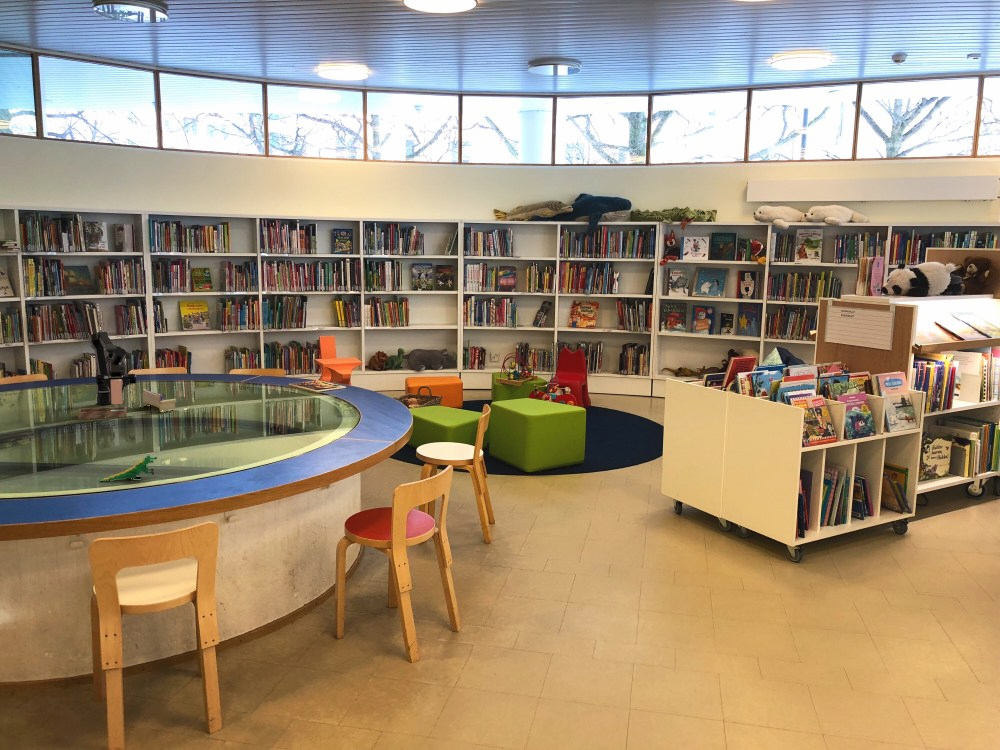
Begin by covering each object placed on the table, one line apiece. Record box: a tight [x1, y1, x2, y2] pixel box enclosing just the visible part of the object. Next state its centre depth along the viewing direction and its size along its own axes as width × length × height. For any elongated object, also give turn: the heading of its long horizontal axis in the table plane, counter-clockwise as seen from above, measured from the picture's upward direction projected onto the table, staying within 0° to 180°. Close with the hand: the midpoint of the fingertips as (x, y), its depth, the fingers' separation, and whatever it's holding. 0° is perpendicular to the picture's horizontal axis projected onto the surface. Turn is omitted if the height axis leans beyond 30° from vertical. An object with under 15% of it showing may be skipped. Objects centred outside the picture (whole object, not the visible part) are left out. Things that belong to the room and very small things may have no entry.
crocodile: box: [99, 455, 158, 482], centre depth 304 cm, size 20×6×9 cm, turn 114°
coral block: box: [111, 379, 123, 405], centre depth 408 cm, size 5×5×12 cm
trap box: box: [77, 406, 128, 420], centre depth 407 cm, size 22×10×4 cm, turn 115°
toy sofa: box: [142, 388, 177, 412], centre depth 429 cm, size 21×9×10 cm, turn 49°
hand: (116, 392), depth 407 cm, fingers closed on coral block, 5 cm apart
